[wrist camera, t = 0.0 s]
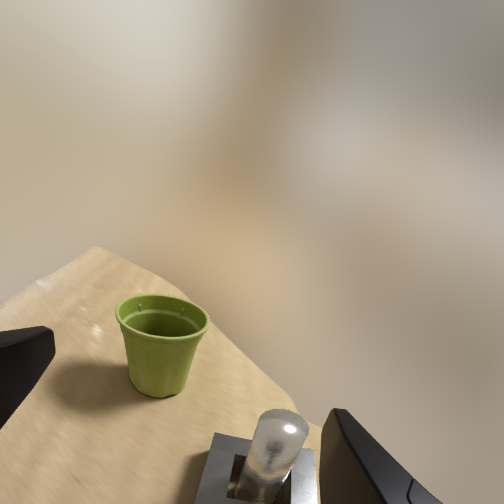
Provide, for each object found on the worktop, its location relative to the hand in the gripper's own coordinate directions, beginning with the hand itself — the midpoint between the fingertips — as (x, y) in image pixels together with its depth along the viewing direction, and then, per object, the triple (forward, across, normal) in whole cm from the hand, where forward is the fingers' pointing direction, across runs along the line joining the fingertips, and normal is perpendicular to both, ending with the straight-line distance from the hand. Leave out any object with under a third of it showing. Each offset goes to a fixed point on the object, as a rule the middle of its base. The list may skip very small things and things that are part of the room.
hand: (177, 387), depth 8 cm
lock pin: (+8, -5, +17) cm, 19 cm away
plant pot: (+20, +7, +17) cm, 27 cm away
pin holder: (+8, -5, +16) cm, 19 cm away
